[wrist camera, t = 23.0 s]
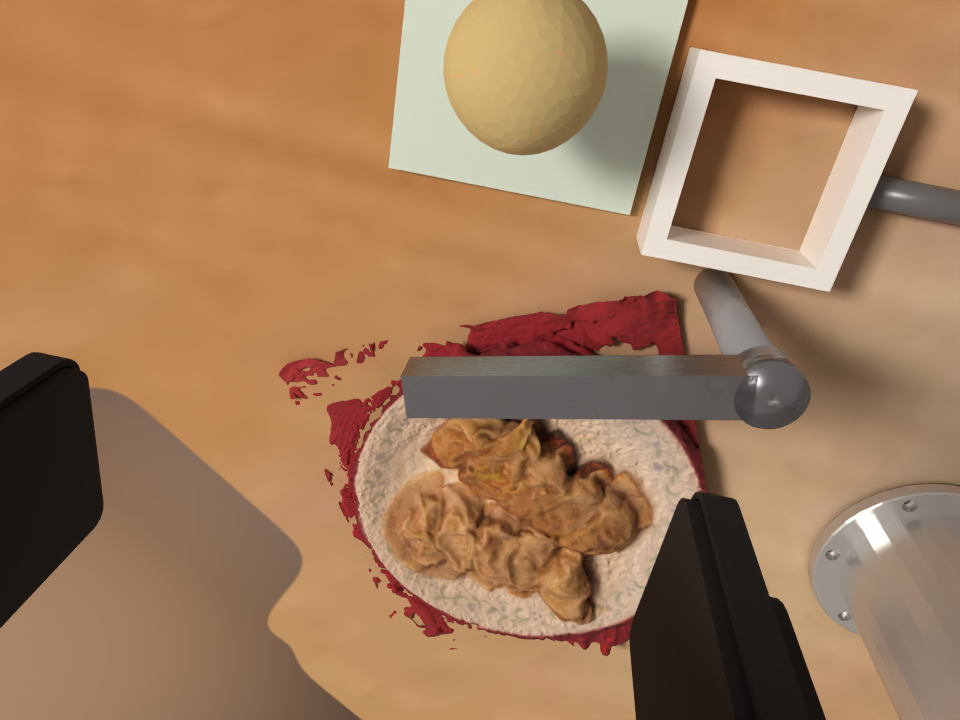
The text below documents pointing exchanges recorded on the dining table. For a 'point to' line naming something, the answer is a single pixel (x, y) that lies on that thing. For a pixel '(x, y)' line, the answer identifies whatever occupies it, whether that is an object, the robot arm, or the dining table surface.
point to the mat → (576, 163)
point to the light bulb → (525, 72)
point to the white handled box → (835, 215)
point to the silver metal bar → (610, 387)
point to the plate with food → (519, 489)
